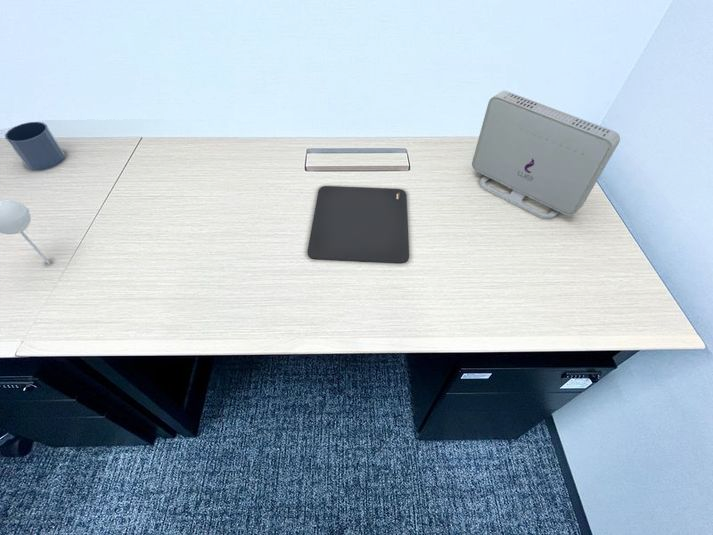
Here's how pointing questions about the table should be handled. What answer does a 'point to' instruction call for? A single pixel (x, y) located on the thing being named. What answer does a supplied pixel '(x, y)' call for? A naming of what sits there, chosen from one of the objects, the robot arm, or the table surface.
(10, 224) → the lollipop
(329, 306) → the table surface
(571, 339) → the table surface
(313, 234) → the mouse pad
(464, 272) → the table surface
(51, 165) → the cup
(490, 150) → the network device
